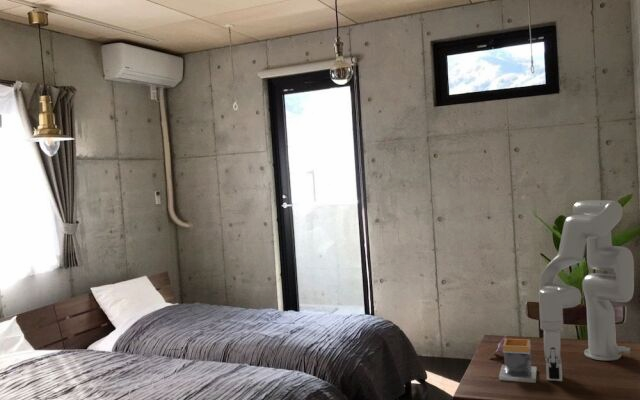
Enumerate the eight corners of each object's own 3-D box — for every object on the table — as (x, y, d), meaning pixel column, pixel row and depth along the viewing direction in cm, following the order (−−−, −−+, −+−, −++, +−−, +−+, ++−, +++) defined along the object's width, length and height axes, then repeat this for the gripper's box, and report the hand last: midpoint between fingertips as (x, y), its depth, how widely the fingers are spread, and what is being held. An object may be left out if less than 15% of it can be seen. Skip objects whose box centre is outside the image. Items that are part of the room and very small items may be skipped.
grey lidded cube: (562, 375, 199) (561, 356, 199) (562, 381, 194) (561, 361, 194) (546, 374, 201) (545, 355, 201) (546, 379, 196) (545, 360, 196)
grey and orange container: (536, 370, 206) (535, 338, 205) (535, 382, 194) (533, 348, 194) (502, 368, 210) (500, 336, 210) (499, 380, 199) (497, 346, 199)
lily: (507, 353, 230) (493, 332, 231) (528, 348, 220) (514, 327, 221) (490, 369, 223) (476, 348, 224) (511, 365, 213) (497, 343, 214)
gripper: (540, 317, 206) (543, 366, 207) (539, 330, 190) (542, 383, 191) (563, 318, 203) (565, 368, 204) (563, 331, 187) (566, 385, 188)
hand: (554, 375), depth 198 cm, fingers closed on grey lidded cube, 5 cm apart
